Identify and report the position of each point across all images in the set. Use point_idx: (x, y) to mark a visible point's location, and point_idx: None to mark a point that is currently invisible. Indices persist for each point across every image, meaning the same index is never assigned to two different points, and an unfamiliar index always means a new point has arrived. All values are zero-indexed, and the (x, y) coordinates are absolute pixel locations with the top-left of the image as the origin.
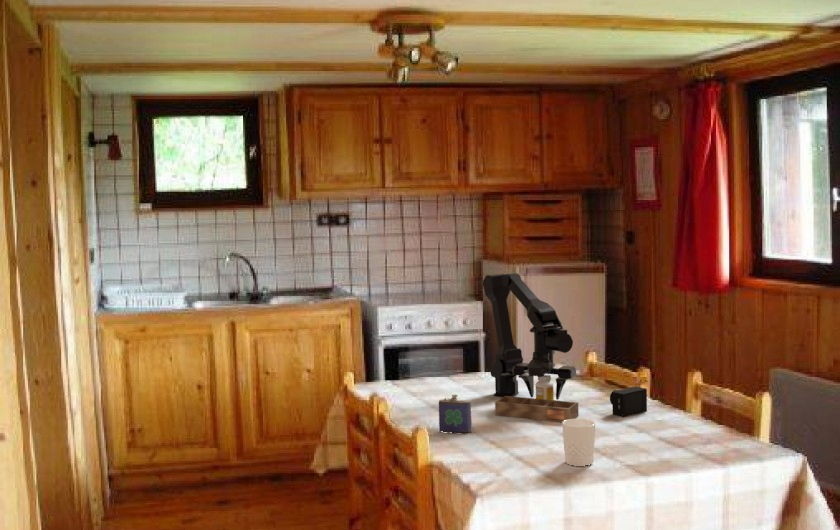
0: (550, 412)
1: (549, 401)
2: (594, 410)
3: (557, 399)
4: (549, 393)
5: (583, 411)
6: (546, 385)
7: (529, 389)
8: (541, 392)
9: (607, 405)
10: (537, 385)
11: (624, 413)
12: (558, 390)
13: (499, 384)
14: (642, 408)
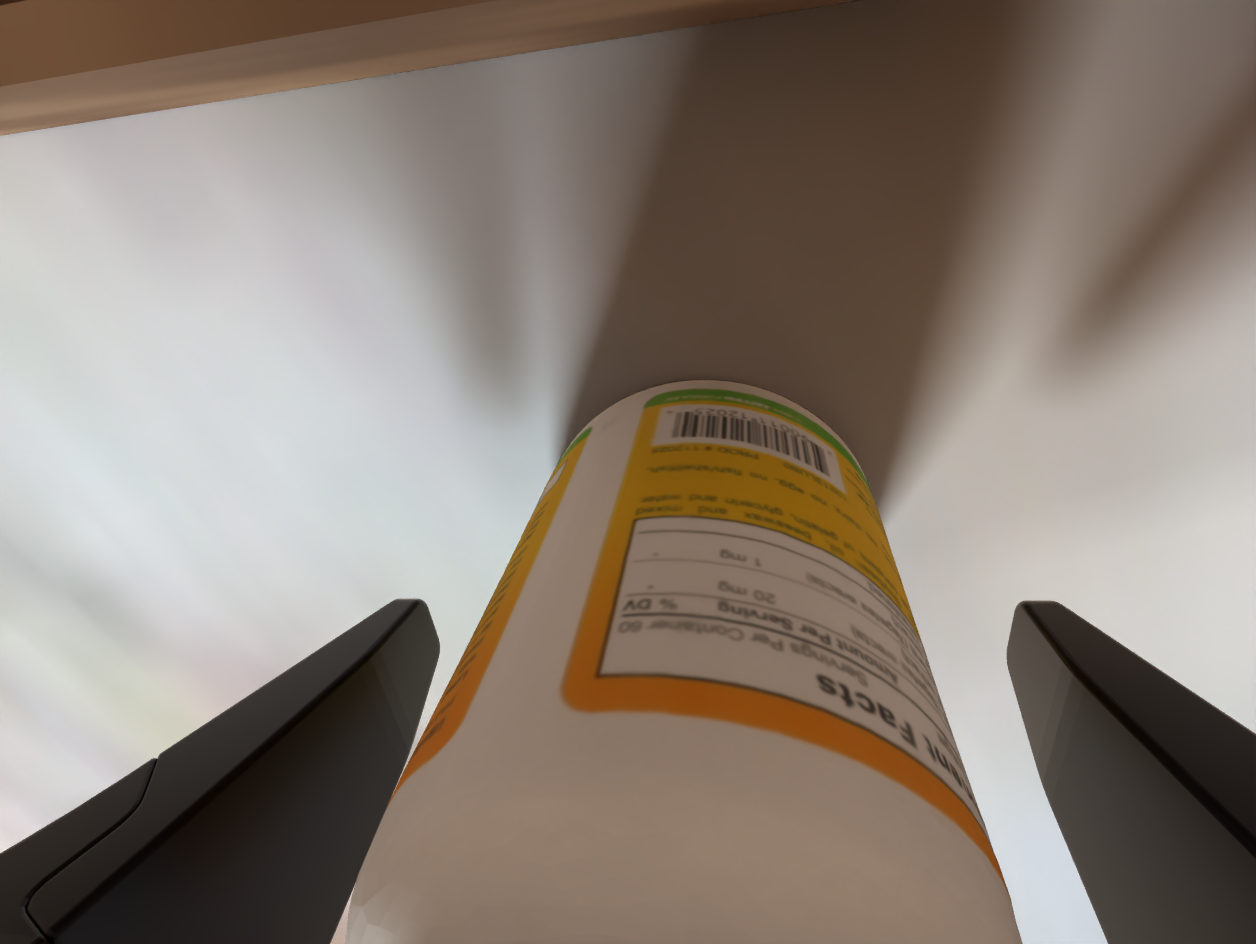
0: None
1: (96, 7)
2: (5, 564)
3: (397, 601)
4: (472, 642)
5: (48, 469)
6: (417, 851)
7: (1219, 754)
8: (661, 579)
9: (99, 774)
10: (869, 844)
11: None
12: (196, 743)
13: None
14: None
